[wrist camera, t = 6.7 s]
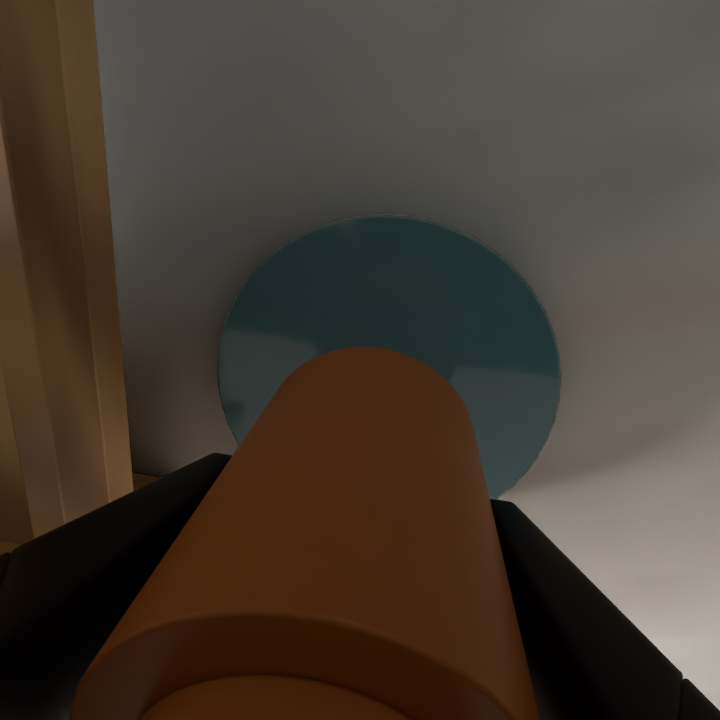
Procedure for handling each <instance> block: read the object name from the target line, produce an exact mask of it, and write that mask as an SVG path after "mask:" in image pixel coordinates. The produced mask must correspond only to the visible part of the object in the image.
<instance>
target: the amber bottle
mask: <svg viewBox="0 0 720 720" xmlns="http://www.w3.org/2000/svg"><path fill="white" fill-rule="evenodd" d="M69 720H540V717H539V712H538V708H537V703H536V699H535V695H534V690H533V686H532V682H531V677H530V673H529V669H528V664H527V660H526V655H525V651H524V647H523V642H522V638H521V634H520V629H519V625H518V621H517V616H516V612H515V607H514V603H513V599H512V594H511V590H510V586H509V581H508V577H507V572H506V568H505V564H504V559H503V555H502V551H501V546H500V542H499V538H498V533H497V529H496V524H495V520H494V516H493V511H492V507H491V503H490V498H489V494H488V490H487V485H486V481H485V476H484V472H483V468H482V463H481V459H480V455H479V450H478V446H477V442H476V437H475V433H474V428H473V425H472V421H471V418H470V415H469V412H468V410H467V408H466V406H465V404H464V402H463V400H462V399H461V397H460V396H459V394H458V393H457V391H456V390H455V389H454V388H453V387H452V385H451V384H450V383H449V382H448V381H447V380H446V379H445V378H444V377H443V376H442V375H440V374H439V373H438V372H437V371H436V370H434V369H433V368H431V367H430V366H428V365H427V364H425V363H424V362H422V361H420V360H418V359H416V358H414V357H412V356H409V355H407V354H404V353H401V352H398V351H394V350H390V349H385V348H379V347H367V346H363V347H348V348H342V349H337V350H333V351H330V352H327V353H323V354H321V355H319V356H317V357H315V358H312V359H310V360H309V361H307V362H306V363H304V364H303V365H301V366H299V367H298V368H297V369H296V370H295V371H294V372H292V373H291V374H290V375H289V376H288V377H287V378H286V380H285V381H284V382H283V383H282V384H281V385H280V387H279V388H278V390H277V391H276V393H275V394H274V396H273V397H272V399H271V400H270V402H269V403H268V404H267V406H266V407H265V409H264V410H263V412H262V413H261V415H260V416H259V418H258V419H257V421H256V422H255V424H254V425H253V426H252V428H251V429H250V431H249V432H248V434H247V435H246V437H245V438H244V440H243V441H242V443H241V444H240V446H239V447H238V448H237V450H236V451H235V453H234V454H233V456H232V457H231V459H230V460H229V462H228V463H227V465H226V466H225V467H224V469H223V470H222V472H221V473H220V475H219V476H218V478H217V479H216V481H215V482H214V484H213V485H212V487H211V488H210V489H209V491H208V492H207V494H206V495H205V497H204V498H203V500H202V501H201V503H200V504H199V506H198V507H197V509H196V510H195V511H194V513H193V514H192V516H191V517H190V519H189V520H188V522H187V523H186V525H185V526H184V528H183V529H182V531H181V532H180V533H179V535H178V536H177V538H176V539H175V541H174V542H173V544H172V545H171V547H170V548H169V550H168V551H167V553H166V554H165V555H164V557H163V558H162V560H161V561H160V563H159V564H158V566H157V567H156V569H155V570H154V572H153V573H152V575H151V576H150V577H149V579H148V580H147V582H146V583H145V585H144V586H143V588H142V589H141V591H140V592H139V594H138V595H137V596H136V598H135V599H134V601H133V602H132V604H131V605H130V607H129V608H128V610H127V611H126V613H125V614H124V616H123V617H122V618H121V620H120V621H119V623H118V624H117V626H116V627H115V629H114V630H113V632H112V633H111V635H110V636H109V638H108V639H107V640H106V642H105V643H104V645H103V646H102V648H101V649H100V651H99V652H98V654H97V655H96V657H95V658H94V660H93V661H92V662H91V664H90V665H89V667H88V669H87V670H86V672H85V673H84V675H83V677H82V678H81V680H80V682H79V683H78V686H77V689H76V692H75V695H74V698H73V701H72V704H71V710H70V719H69Z"/></svg>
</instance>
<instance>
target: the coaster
mask: <svg viewBox="0 0 720 720" xmlns="http://www.w3.org/2000/svg"><path fill="white" fill-rule="evenodd" d="M363 346H367V347H379V348H385V349H390V350H394V351H398V352H401V353H404V354H407V355H409V356H412V357H414V358H416V359H418V360H420V361H422V362H424V363H425V364H427V365H428V366H430V367H431V368H433V369H434V370H436V371H437V372H438V373H439V374H440V375H442V376H443V377H444V378H445V379H446V380H447V381H448V382H449V383H450V384H451V385H452V387H453V388H454V389H455V390H456V391H457V393H458V394H459V396H460V397H461V399H462V400H463V402H464V404H465V406H466V408H467V410H468V412H469V415H470V418H471V421H472V425H473V428H474V433H475V437H476V442H477V446H478V450H479V455H480V459H481V463H482V468H483V472H484V476H485V481H486V485H487V490H488V494H489V498H490V499H496V500H497V499H498V498H499V497H500V496H502V495H503V494H504V493H506V492H507V491H508V490H509V489H511V488H512V487H513V486H514V485H515V484H516V483H517V482H518V481H519V480H520V479H521V478H522V476H523V475H524V474H525V473H526V472H527V471H528V469H529V468H530V467H531V465H532V464H533V463H534V461H535V460H536V459H537V457H538V455H539V454H540V452H541V450H542V448H543V446H544V445H545V443H546V441H547V439H548V436H549V434H550V431H551V429H552V426H553V424H554V421H555V417H556V413H557V408H558V404H559V400H560V387H561V369H560V356H559V351H558V347H557V343H556V338H555V334H554V331H553V329H552V326H551V324H550V321H549V319H548V316H547V314H546V312H545V310H544V308H543V306H542V305H541V303H540V301H539V299H538V298H537V296H536V294H535V293H534V291H533V290H532V289H531V287H530V286H529V285H528V284H527V282H526V281H525V280H524V279H523V277H522V276H521V275H520V274H519V272H518V271H516V270H515V269H514V268H513V267H512V266H511V265H510V264H509V263H508V262H507V261H506V260H505V259H504V258H503V257H502V256H500V255H499V254H498V253H497V252H496V251H494V250H493V249H492V248H490V247H489V246H487V245H486V244H484V243H483V242H482V241H480V240H479V239H477V238H476V237H474V236H472V235H470V234H468V233H466V232H464V231H462V230H460V229H458V228H456V227H453V226H451V225H448V224H445V223H442V222H439V221H436V220H433V219H429V218H424V217H419V216H414V215H409V214H393V213H377V214H365V215H357V216H352V217H348V218H343V219H339V220H335V221H333V222H330V223H327V224H325V225H322V226H319V227H317V228H314V229H312V230H309V231H307V232H305V233H304V234H302V235H300V236H298V237H296V238H294V239H293V240H291V241H289V242H287V243H286V244H285V245H283V246H282V247H281V248H279V249H278V250H277V251H275V252H274V253H273V254H271V255H270V256H269V257H268V258H267V259H266V260H265V261H264V262H263V263H262V264H261V265H260V266H259V267H258V268H257V269H256V270H255V271H254V272H253V273H252V274H251V276H250V277H249V278H248V280H247V281H246V282H245V284H244V285H243V286H242V288H241V289H240V291H239V293H238V294H237V296H236V298H235V300H234V302H233V304H232V305H231V307H230V310H229V312H228V315H227V318H226V321H225V323H224V326H223V329H222V334H221V339H220V344H219V350H218V364H217V372H218V386H219V392H220V397H221V402H222V407H223V410H224V413H225V416H226V419H227V422H228V424H229V427H230V429H231V431H232V433H233V435H234V437H235V439H236V441H237V443H238V445H239V446H240V444H241V443H242V441H243V440H244V438H245V437H246V435H247V434H248V432H249V431H250V429H251V428H252V426H253V425H254V424H255V422H256V421H257V419H258V418H259V416H260V415H261V413H262V412H263V410H264V409H265V407H266V406H267V404H268V403H269V402H270V400H271V399H272V397H273V396H274V394H275V393H276V391H277V390H278V388H279V387H280V385H281V384H282V383H283V382H284V381H285V380H286V378H287V377H288V376H289V375H290V374H291V373H292V372H294V371H295V370H296V369H297V368H298V367H299V366H301V365H303V364H304V363H306V362H307V361H309V360H310V359H312V358H315V357H317V356H319V355H321V354H323V353H327V352H330V351H333V350H337V349H342V348H348V347H363Z"/></svg>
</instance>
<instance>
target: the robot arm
mask: <svg viewBox="0 0 720 720" xmlns="http://www.w3.org/2000/svg"><path fill="white" fill-rule="evenodd" d="M231 457H232V456H231V455H225V454H219V453H212V454H210V455H208V456H206V457H204V458H202V459H199V460H197V461H195V462H193V463H191V464H189V465H187V466H185V467H183V468H181V469H179V470H177V471H174V472H172V473H170V474H168V475H166V476H164V477H162V478H160V479H158V480H156V481H154V482H152V483H149V484H147V485H145V486H143V487H141V488H139V489H137V490H135V491H133V492H131V493H129V494H127V495H124V496H122V497H120V498H118V499H116V500H114V501H112V502H110V503H108V504H106V505H104V506H102V507H99V508H97V509H95V510H93V511H91V512H89V513H87V514H85V515H83V516H81V517H79V518H77V519H74V520H72V521H70V522H68V523H66V524H64V525H62V526H60V527H58V528H56V529H54V530H51V531H49V532H47V533H45V534H43V535H41V536H39V537H37V538H35V539H33V540H31V541H28V542H26V543H24V544H22V545H20V546H18V547H16V548H14V549H13V550H12V553H10V552H5V553H3V554H1V555H0V720H69V719H70V710H71V704H72V701H73V698H74V695H75V692H76V689H77V686H78V683H79V682H80V680H81V678H82V677H83V675H84V673H85V672H86V670H87V669H88V667H89V665H90V664H91V662H92V661H93V660H94V658H95V657H96V655H97V654H98V652H99V651H100V649H101V648H102V646H103V645H104V643H105V642H106V640H107V639H108V638H109V636H110V635H111V633H112V632H113V630H114V629H115V627H116V626H117V624H118V623H119V621H120V620H121V618H122V617H123V616H124V614H125V613H126V611H127V610H128V608H129V607H130V605H131V604H132V602H133V601H134V599H135V598H136V596H137V595H138V594H139V592H140V591H141V589H142V588H143V586H144V585H145V583H146V582H147V580H148V579H149V577H150V576H151V575H152V573H153V572H154V570H155V569H156V567H157V566H158V564H159V563H160V561H161V560H162V558H163V557H164V555H165V554H166V553H167V551H168V550H169V548H170V547H171V545H172V544H173V542H174V541H175V539H176V538H177V536H178V535H179V533H180V532H181V531H182V529H183V528H184V526H185V525H186V523H187V522H188V520H189V519H190V517H191V516H192V514H193V513H194V511H195V510H196V509H197V507H198V506H199V504H200V503H201V501H202V500H203V498H204V497H205V495H206V494H207V492H208V491H209V489H210V488H211V487H212V485H213V484H214V482H215V481H216V479H217V478H218V476H219V475H220V473H221V472H222V470H223V469H224V467H225V466H226V465H227V463H228V462H229V460H230V459H231ZM490 503H491V507H492V511H493V516H494V520H495V524H496V529H497V533H498V538H499V542H500V546H501V551H502V555H503V559H504V564H505V568H506V572H507V577H508V581H509V586H510V590H511V594H512V599H513V603H514V607H515V612H516V616H517V621H518V625H519V629H520V634H521V638H522V642H523V647H524V651H525V655H526V660H527V664H528V669H529V673H530V677H531V682H532V686H533V690H534V695H535V699H536V703H537V708H538V712H539V717H540V720H720V711H719V710H718V709H717V708H716V707H715V706H714V705H713V704H712V703H711V702H710V701H709V700H708V699H707V698H706V697H705V696H704V695H703V694H702V693H701V692H700V691H699V690H698V689H697V688H696V687H695V686H694V685H693V684H692V683H691V682H690V681H689V680H688V679H683V675H682V673H681V672H680V671H679V670H678V669H677V668H676V667H675V666H674V665H673V664H672V663H671V662H670V661H669V660H668V659H667V658H666V657H665V656H664V655H663V654H662V653H661V652H660V651H659V650H658V648H657V647H656V646H655V645H654V644H653V643H652V642H651V641H650V640H649V639H648V638H647V637H646V636H645V635H644V634H643V633H642V632H641V631H640V630H639V629H638V628H637V627H636V626H635V625H634V624H633V623H632V622H631V621H630V620H629V619H628V618H627V617H626V616H625V615H624V614H623V613H622V612H621V611H620V610H619V609H618V608H617V607H616V606H615V605H614V604H613V603H612V602H611V601H610V600H609V599H608V598H607V597H606V596H605V595H604V594H603V593H602V592H601V591H600V590H599V589H598V588H597V587H596V586H595V585H594V584H593V583H592V582H591V581H590V580H589V579H588V578H587V577H586V576H585V575H584V574H583V573H582V572H581V571H580V570H579V569H578V568H577V567H576V566H575V565H574V564H573V563H572V562H571V561H570V560H569V559H568V558H567V557H566V556H565V555H564V554H563V553H562V552H561V551H560V550H559V549H558V547H557V546H556V545H555V544H554V543H553V542H552V541H551V540H550V539H549V538H548V537H547V536H546V535H545V534H544V533H543V532H542V531H541V530H540V529H539V528H538V527H537V526H536V525H535V524H534V523H533V522H532V521H531V520H530V519H529V518H528V517H527V516H526V515H525V514H524V513H523V512H522V511H521V510H520V509H519V508H518V507H517V506H516V505H515V504H514V503H512V502H508V501H502V500H496V499H490Z"/></svg>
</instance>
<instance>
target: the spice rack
mask: <svg viewBox="0 0 720 720" xmlns="http://www.w3.org/2000/svg"><path fill="white" fill-rule="evenodd" d="M158 479H160V477H154V476H148V475H143V474H137V473H132V466H131V454H130V442H129V429H128V417H127V405H126V393H125V381H124V369H123V357H122V345H121V333H120V321H119V309H118V296H117V284H116V272H115V260H114V248H113V236H112V224H111V212H110V200H109V188H108V176H107V164H106V151H105V139H104V127H103V115H102V103H101V91H100V79H99V67H98V55H97V43H96V31H95V18H94V6H93V0H0V555H1V554H3V553H5V552H10V553H12V550H13V549H14V548H16V547H18V546H20V545H22V544H24V543H26V542H28V541H31V540H33V539H35V538H37V537H39V536H41V535H43V534H45V533H47V532H49V531H51V530H54V529H56V528H58V527H60V526H62V525H64V524H66V523H68V522H70V521H72V520H74V519H77V518H79V517H81V516H83V515H85V514H87V513H89V512H91V511H93V510H95V509H97V508H99V507H102V506H104V505H106V504H108V503H110V502H112V501H114V500H116V499H118V498H120V497H122V496H124V495H127V494H129V493H131V492H133V491H135V490H137V489H139V488H141V487H143V486H145V485H147V484H149V483H152V482H154V481H156V480H158Z"/></svg>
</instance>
